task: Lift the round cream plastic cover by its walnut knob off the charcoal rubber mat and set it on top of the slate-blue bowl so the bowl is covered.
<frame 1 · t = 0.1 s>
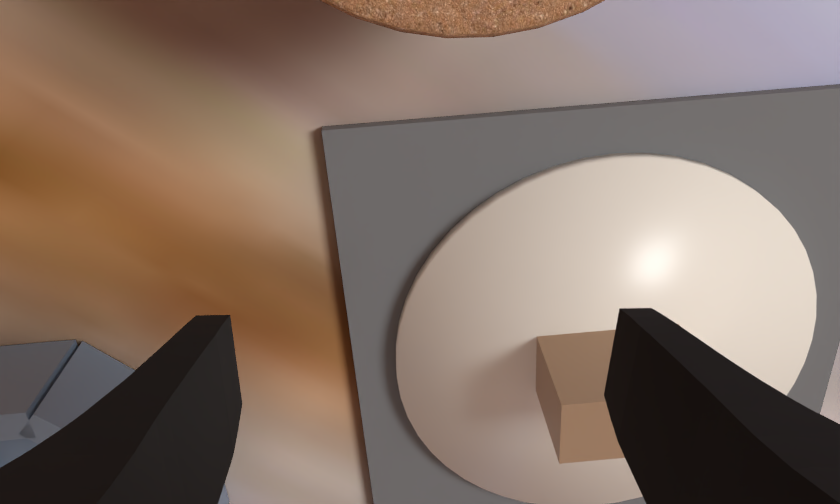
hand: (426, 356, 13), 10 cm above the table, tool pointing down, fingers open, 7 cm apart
bowl: (61, 472, 26), on the table
cover: (600, 348, 25), resting on mat
mat: (597, 342, 25), on the table
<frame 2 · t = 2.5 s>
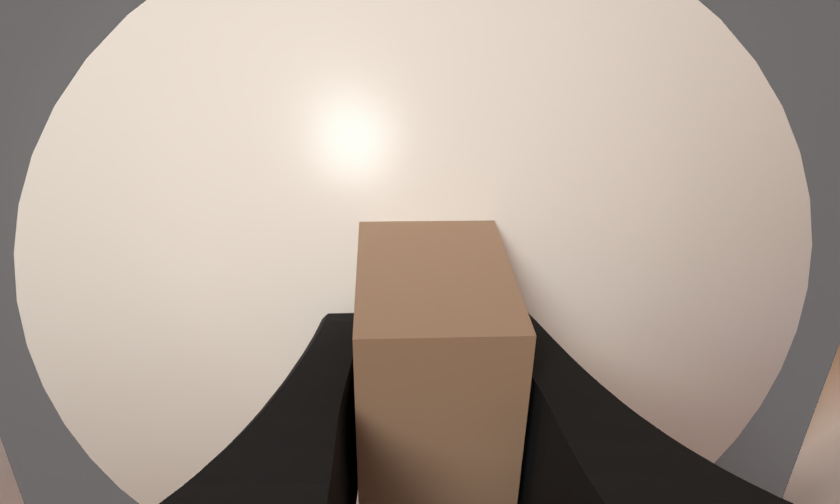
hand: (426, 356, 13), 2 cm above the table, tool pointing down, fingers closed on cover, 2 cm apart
cover: (422, 320, 14), resting on mat, touching gripper
mat: (421, 310, 14), on the table
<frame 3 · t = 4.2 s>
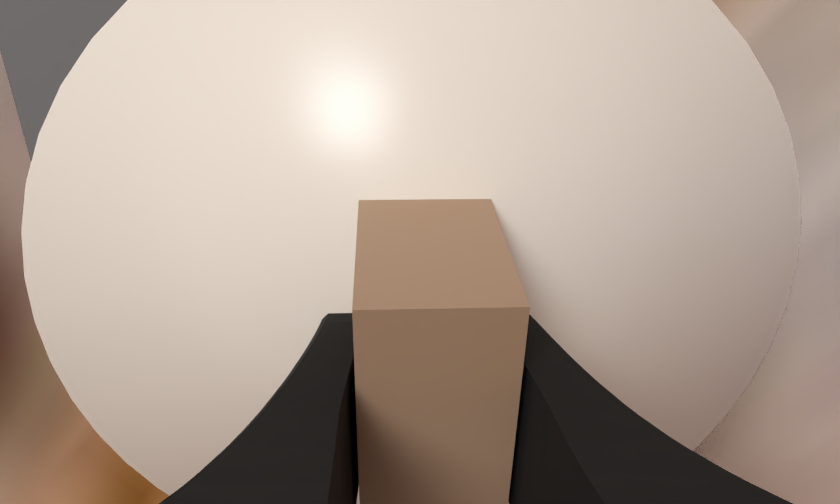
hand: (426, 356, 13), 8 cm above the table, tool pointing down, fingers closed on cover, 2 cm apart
cover: (420, 298, 14), point 7 cm above the table, touching gripper
when the fingers open (6 cm above the table, at t = 6.5 s): cover stays where it is, resting on bowl.
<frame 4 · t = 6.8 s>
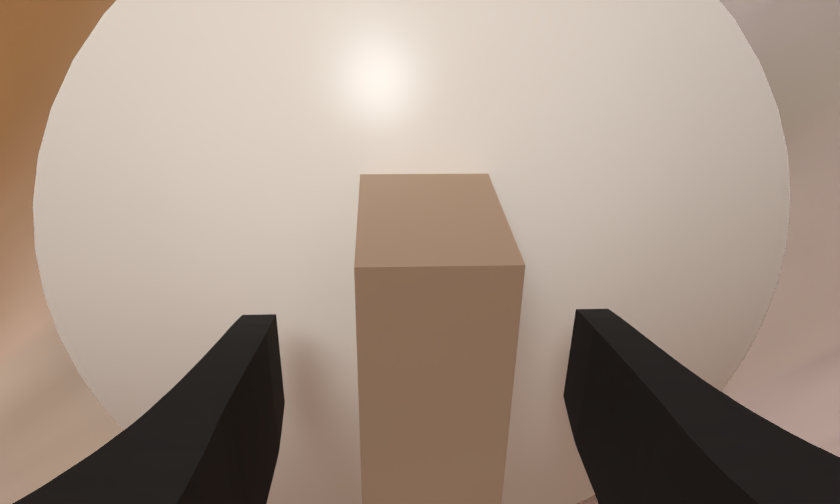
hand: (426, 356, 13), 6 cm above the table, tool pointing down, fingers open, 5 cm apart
cover: (420, 274, 14), point 4 cm above the table, touching bowl
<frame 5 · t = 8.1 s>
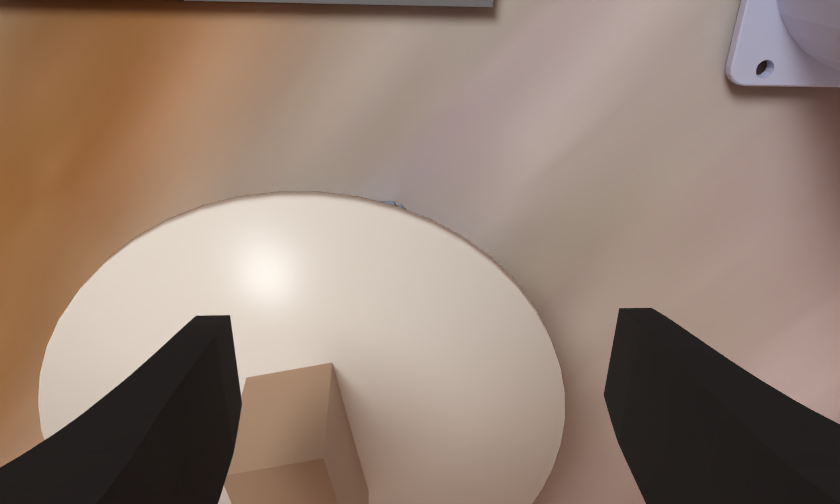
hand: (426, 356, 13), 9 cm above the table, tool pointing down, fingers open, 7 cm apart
cover: (312, 423, 20), point 4 cm above the table, touching bowl
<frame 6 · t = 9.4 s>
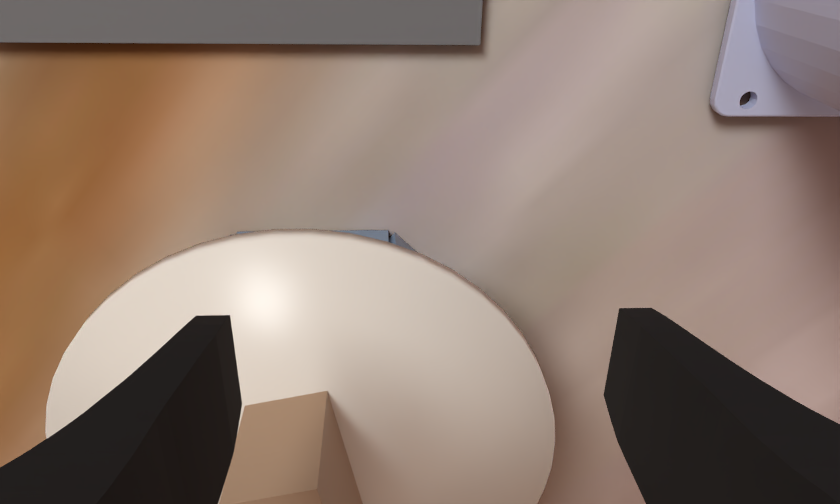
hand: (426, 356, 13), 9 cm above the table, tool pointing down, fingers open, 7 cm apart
bowl: (323, 382, 24), on the table
cover: (310, 447, 21), point 4 cm above the table, touching bowl
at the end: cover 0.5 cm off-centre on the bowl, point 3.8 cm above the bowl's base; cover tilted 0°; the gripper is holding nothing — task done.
